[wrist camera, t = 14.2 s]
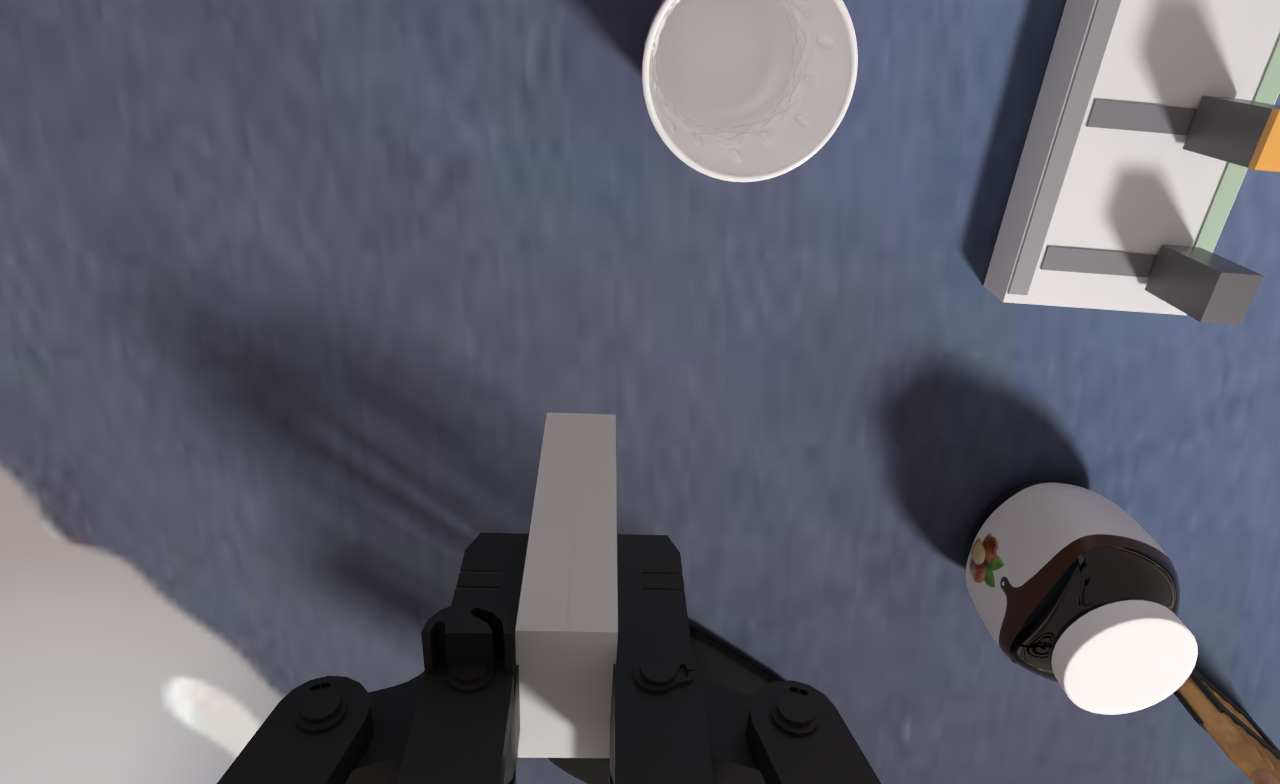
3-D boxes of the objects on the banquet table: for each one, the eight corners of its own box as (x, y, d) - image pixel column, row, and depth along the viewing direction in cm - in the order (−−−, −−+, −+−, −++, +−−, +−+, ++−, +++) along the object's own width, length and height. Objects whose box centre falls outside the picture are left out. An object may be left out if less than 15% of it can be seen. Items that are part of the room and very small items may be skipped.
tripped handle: (1202, 95, 37) (1279, 109, 33) (1243, 99, 37) (1325, 114, 33) (1182, 148, 38) (1254, 169, 34) (1222, 152, 38) (1299, 173, 34)
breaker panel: (1102, -124, 35) (1136, -131, 33) (1316, -101, 36) (1364, -106, 34) (983, 286, 44) (1003, 302, 42) (1157, 298, 45) (1187, 315, 42)
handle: (1162, 244, 40) (1221, 272, 36) (1200, 247, 40) (1263, 275, 36) (1144, 289, 41) (1200, 321, 37) (1181, 292, 41) (1241, 324, 37)
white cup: (654, -60, 36) (667, -74, 27) (821, -21, 37) (888, -22, 28) (621, 120, 39) (623, 160, 31) (775, 152, 40) (821, 200, 31)
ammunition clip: (1150, 664, 57) (1273, 820, 47) (1173, 649, 57) (1303, 804, 46) (1228, 730, 61) (1360, 889, 50) (1250, 717, 60) (1388, 875, 49)
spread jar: (1017, 450, 49) (1126, 576, 38) (1169, 500, 51) (1312, 632, 41) (921, 596, 54) (995, 742, 43) (1063, 636, 56) (1166, 784, 46)
